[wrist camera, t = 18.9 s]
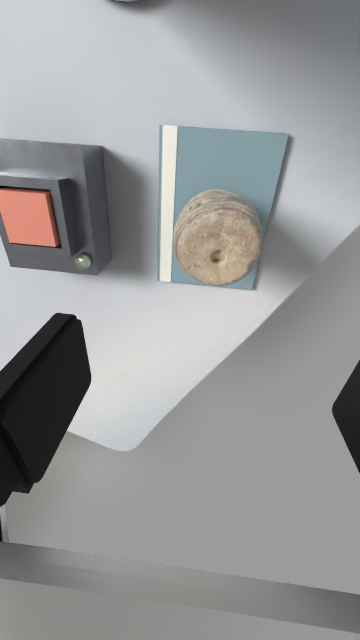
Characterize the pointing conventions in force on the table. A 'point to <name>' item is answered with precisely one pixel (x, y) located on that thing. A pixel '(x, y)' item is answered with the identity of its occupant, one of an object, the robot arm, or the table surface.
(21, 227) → the button
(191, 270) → the carving
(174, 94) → the table surface
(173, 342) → the table surface
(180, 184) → the mat
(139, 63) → the table surface
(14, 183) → the breaker box
